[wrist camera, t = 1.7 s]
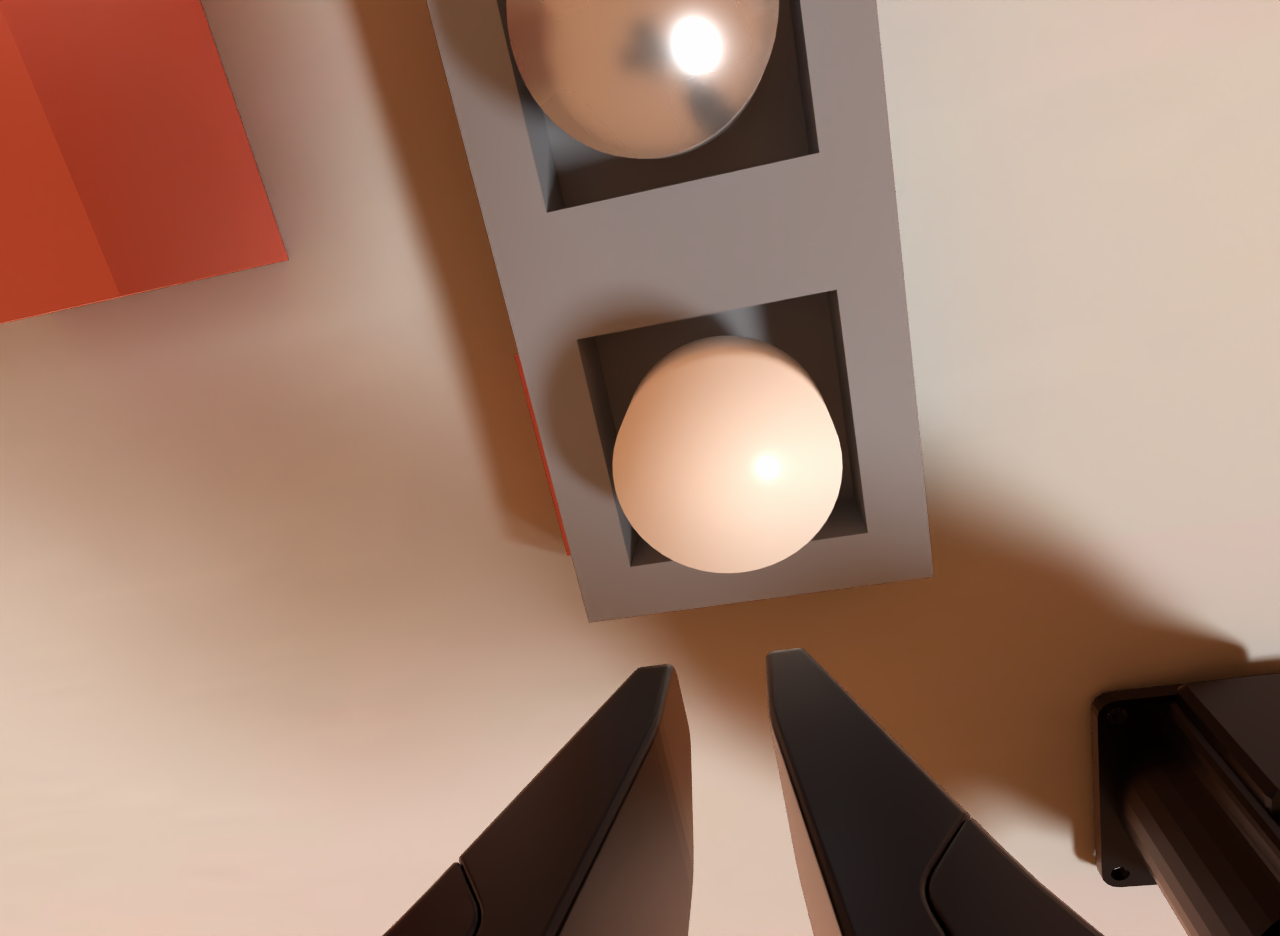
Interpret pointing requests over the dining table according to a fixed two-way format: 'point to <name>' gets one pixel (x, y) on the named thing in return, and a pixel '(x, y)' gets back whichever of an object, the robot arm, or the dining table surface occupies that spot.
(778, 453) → the cream switch
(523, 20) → the chrome round knob
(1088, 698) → the dining table surface
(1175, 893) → the robot arm
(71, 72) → the cap
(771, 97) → the switch box
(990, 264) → the dining table surface
